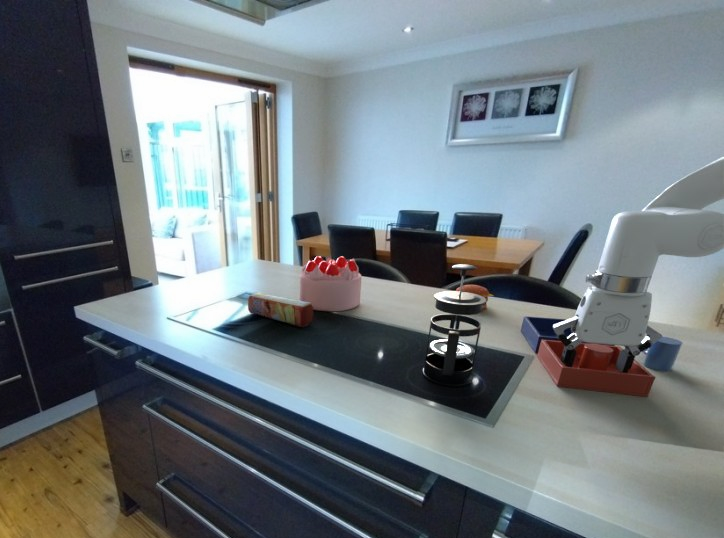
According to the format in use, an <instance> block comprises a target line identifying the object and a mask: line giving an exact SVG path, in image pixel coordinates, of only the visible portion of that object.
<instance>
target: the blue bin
mask: <svg viewBox="0 0 724 538" xmlns="http://www.w3.org/2000/svg"><path fill="white" fill-rule="evenodd" d="M568 319H569V318H568ZM568 319H567V318H554V317H553V318H552V317H541V316H540V317H539V316H525V315H524V316H523V319H522V322H521V327H520V333H521V334H522V336H523V337H524V339H525V340H526V341H527V343H528V345H529V346H530V348H531V349H532V351H533V352H534V353H535V354H538V351H539V347H540V343H541V340H552V341H560V340H559V339H558V337H557V335H556V334H555V332H554V330H553V325H555V324H557V323H560V322H563V321H565V320H568ZM564 334H565V336H566V337H568V336H570V335H571V334H572V332H571V327H570V328H568V329H565V330H564ZM582 343H586V342H582ZM586 344H590V343H586ZM592 344H594V343H592ZM600 345H606V344H600ZM609 346H616V345H609Z"/></svg>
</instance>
